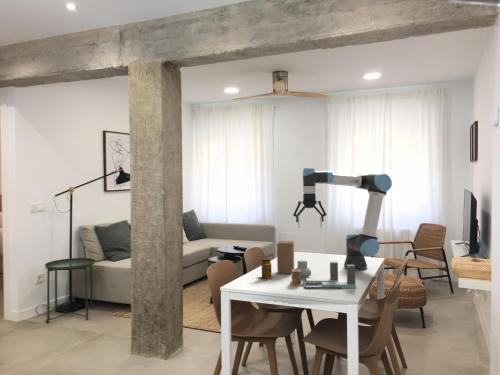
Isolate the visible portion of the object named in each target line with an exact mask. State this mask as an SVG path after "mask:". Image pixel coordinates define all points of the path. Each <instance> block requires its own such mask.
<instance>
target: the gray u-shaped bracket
mask: <svg viewBox="0 0 500 375" xmlns="http://www.w3.org/2000/svg"><path fill="white" fill-rule="evenodd" d="M305 279H306V281H305V283H317V282H339V263H338V261H329V277H307V278H305Z"/></svg>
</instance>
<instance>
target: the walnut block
mask: <svg viewBox="0 0 500 375" xmlns="http://www.w3.org/2000/svg"><path fill="white" fill-rule="evenodd" d="M291 281H292V284H301V281H302V278H301V270H295V269H294V270H292V274H291Z"/></svg>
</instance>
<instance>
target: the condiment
mask: <svg viewBox="0 0 500 375" xmlns="http://www.w3.org/2000/svg"><path fill="white" fill-rule="evenodd" d="M272 273H273V272H272V260H271V258H266V257H265V258H262V259H261V276H260V277H259V276H258V277H257V276H256V279H258V280H260V281H264V280H265V281H266V280H274V279H275V278H274V277H272Z"/></svg>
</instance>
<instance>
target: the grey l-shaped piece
mask: <svg viewBox="0 0 500 375" xmlns="http://www.w3.org/2000/svg"><path fill="white" fill-rule="evenodd" d="M321 286H341V289H356V288H357V284H356V270H355V265H347V269H346V281H338V282H322V285H321Z"/></svg>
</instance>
